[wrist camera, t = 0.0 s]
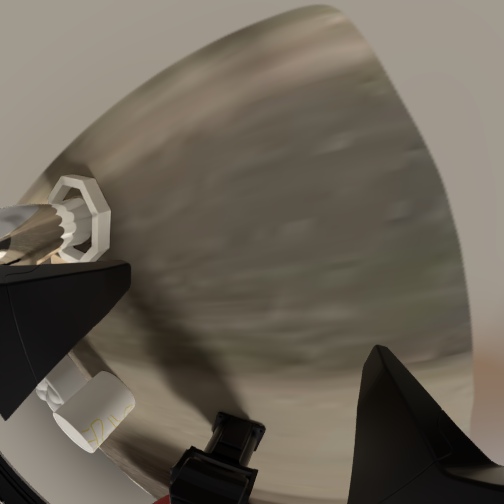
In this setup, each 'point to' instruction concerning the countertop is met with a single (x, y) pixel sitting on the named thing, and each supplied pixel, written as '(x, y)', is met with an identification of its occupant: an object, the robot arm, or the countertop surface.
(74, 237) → the beer glass
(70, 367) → the lumpy-topped squat cylinder
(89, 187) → the holder ring
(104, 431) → the cup
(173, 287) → the countertop surface
